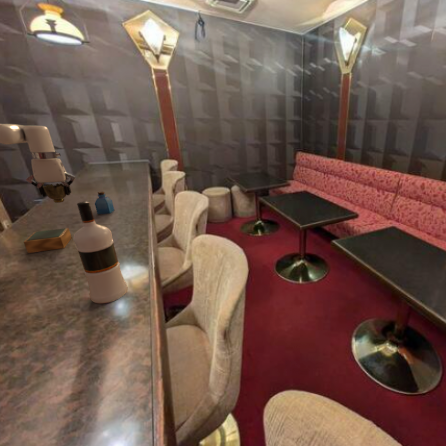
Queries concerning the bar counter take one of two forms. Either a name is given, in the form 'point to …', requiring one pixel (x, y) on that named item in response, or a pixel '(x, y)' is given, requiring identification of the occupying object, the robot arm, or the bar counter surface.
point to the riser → (47, 240)
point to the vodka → (98, 258)
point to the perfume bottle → (103, 204)
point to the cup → (55, 192)
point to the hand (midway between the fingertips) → (57, 195)
